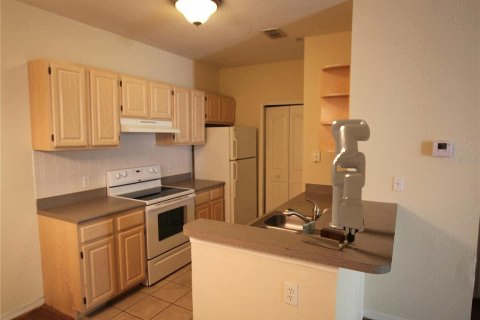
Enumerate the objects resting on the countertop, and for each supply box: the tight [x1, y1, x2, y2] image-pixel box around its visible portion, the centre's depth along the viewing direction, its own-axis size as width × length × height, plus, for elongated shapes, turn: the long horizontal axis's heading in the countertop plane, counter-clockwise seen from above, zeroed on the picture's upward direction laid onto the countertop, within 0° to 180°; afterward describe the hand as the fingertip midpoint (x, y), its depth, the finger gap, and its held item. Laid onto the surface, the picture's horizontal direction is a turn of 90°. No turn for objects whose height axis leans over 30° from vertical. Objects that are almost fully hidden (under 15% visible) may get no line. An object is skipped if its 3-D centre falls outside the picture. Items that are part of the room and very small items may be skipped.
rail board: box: [300, 220, 349, 251], centre depth 138 cm, size 13×18×7 cm
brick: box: [320, 227, 345, 243], centre depth 136 cm, size 11×4×5 cm, turn 49°
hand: (350, 242), depth 130 cm, fingers closed
